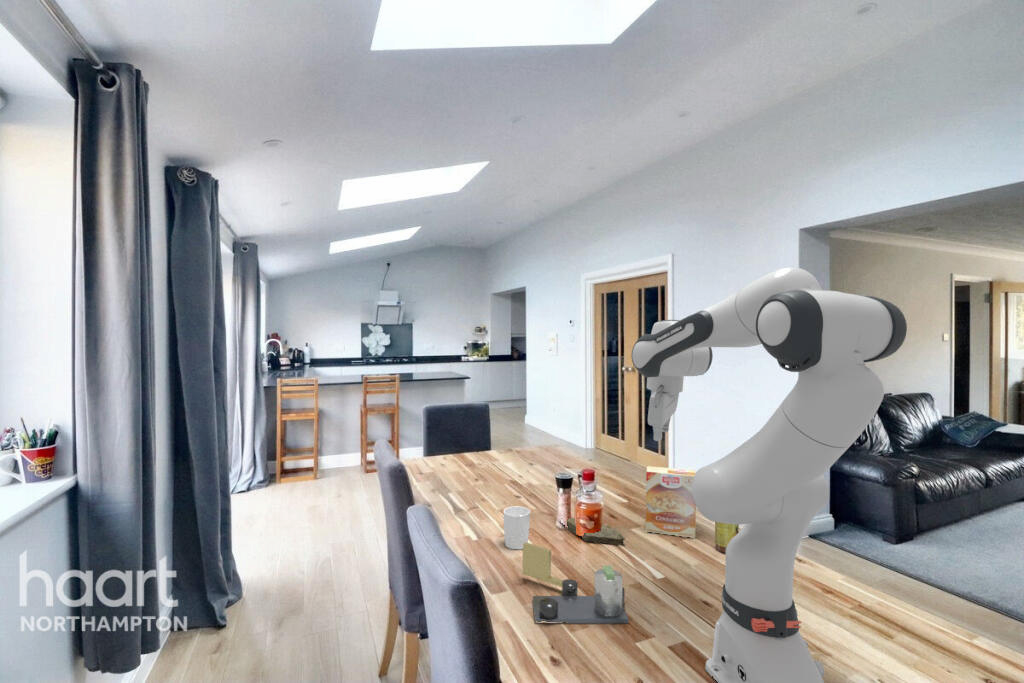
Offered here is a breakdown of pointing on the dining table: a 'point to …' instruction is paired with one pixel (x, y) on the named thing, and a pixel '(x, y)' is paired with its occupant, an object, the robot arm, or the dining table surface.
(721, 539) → the sauce bottle
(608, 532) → the stone slab
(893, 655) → the dining table surface
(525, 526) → the white cup
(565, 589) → the olive upright panel
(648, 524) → the coffeecake box
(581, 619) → the base
